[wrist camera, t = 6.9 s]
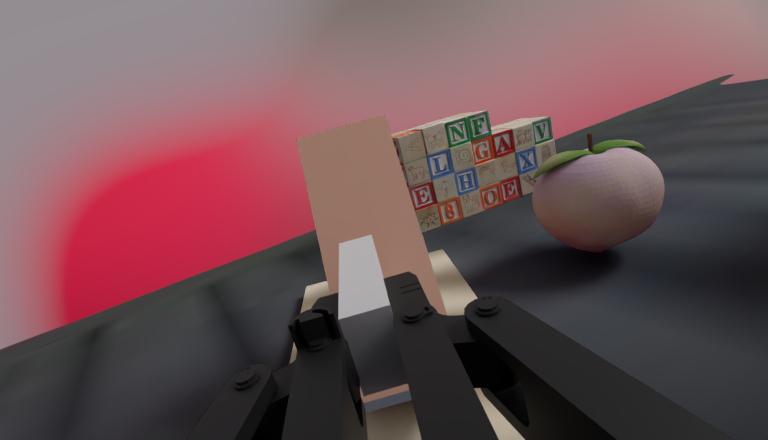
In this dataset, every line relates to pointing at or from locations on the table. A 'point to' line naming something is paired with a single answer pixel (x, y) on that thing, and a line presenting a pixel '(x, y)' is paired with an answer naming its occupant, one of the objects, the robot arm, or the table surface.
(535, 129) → the stack of blocks
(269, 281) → the table surface
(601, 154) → the decorative fruit
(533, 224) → the table surface
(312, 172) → the block
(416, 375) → the robot arm
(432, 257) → the board
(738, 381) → the table surface
